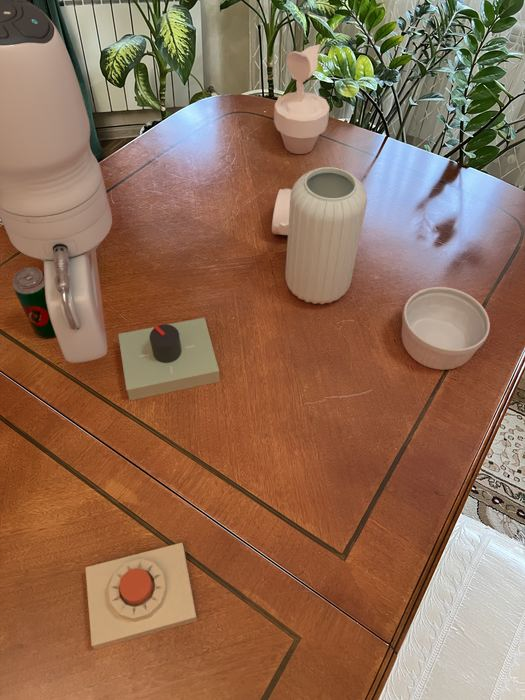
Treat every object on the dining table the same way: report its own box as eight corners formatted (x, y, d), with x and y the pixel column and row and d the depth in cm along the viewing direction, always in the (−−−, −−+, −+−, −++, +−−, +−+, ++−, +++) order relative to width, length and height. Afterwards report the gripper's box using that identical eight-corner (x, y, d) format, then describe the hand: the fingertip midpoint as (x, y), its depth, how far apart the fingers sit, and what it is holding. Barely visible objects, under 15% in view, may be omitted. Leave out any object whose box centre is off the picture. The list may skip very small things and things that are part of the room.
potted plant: (308, 169, 123) (319, 50, 103) (263, 151, 126) (265, 32, 106) (336, 141, 129) (352, 23, 109) (292, 124, 133) (299, 8, 113)
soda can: (70, 331, 95) (50, 280, 85) (41, 344, 93) (17, 294, 83) (58, 312, 97) (37, 260, 88) (30, 324, 95) (5, 273, 86)
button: (123, 608, 66) (121, 604, 64) (120, 576, 68) (117, 572, 66) (155, 599, 66) (152, 595, 65) (150, 568, 68) (148, 564, 67)
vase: (339, 319, 97) (358, 215, 80) (275, 301, 100) (280, 196, 82) (356, 274, 104) (377, 169, 86) (296, 258, 106) (305, 152, 88)
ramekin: (386, 361, 92) (395, 334, 86) (405, 304, 99) (414, 276, 94) (469, 387, 89) (483, 361, 84) (482, 327, 97) (496, 299, 91)
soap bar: (320, 251, 107) (324, 218, 101) (271, 244, 108) (272, 210, 102) (328, 211, 114) (333, 177, 108) (282, 204, 115) (284, 170, 109)
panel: (129, 400, 87) (126, 389, 84) (121, 345, 93) (117, 333, 91) (219, 381, 89) (219, 370, 87) (205, 328, 96) (204, 316, 93)
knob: (187, 352, 89) (184, 334, 85) (165, 368, 87) (161, 350, 83) (169, 335, 91) (166, 318, 87) (147, 351, 89) (143, 333, 85)
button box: (95, 649, 66) (87, 643, 63) (89, 572, 72) (81, 562, 68) (197, 621, 68) (194, 613, 65) (184, 547, 74) (181, 537, 70)
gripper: (105, 291, 43) (134, 391, 54) (85, 138, 55) (112, 246, 66) (18, 306, 42) (66, 404, 53) (17, 147, 54) (56, 255, 65)
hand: (91, 315), depth 60 cm, fingers closed
